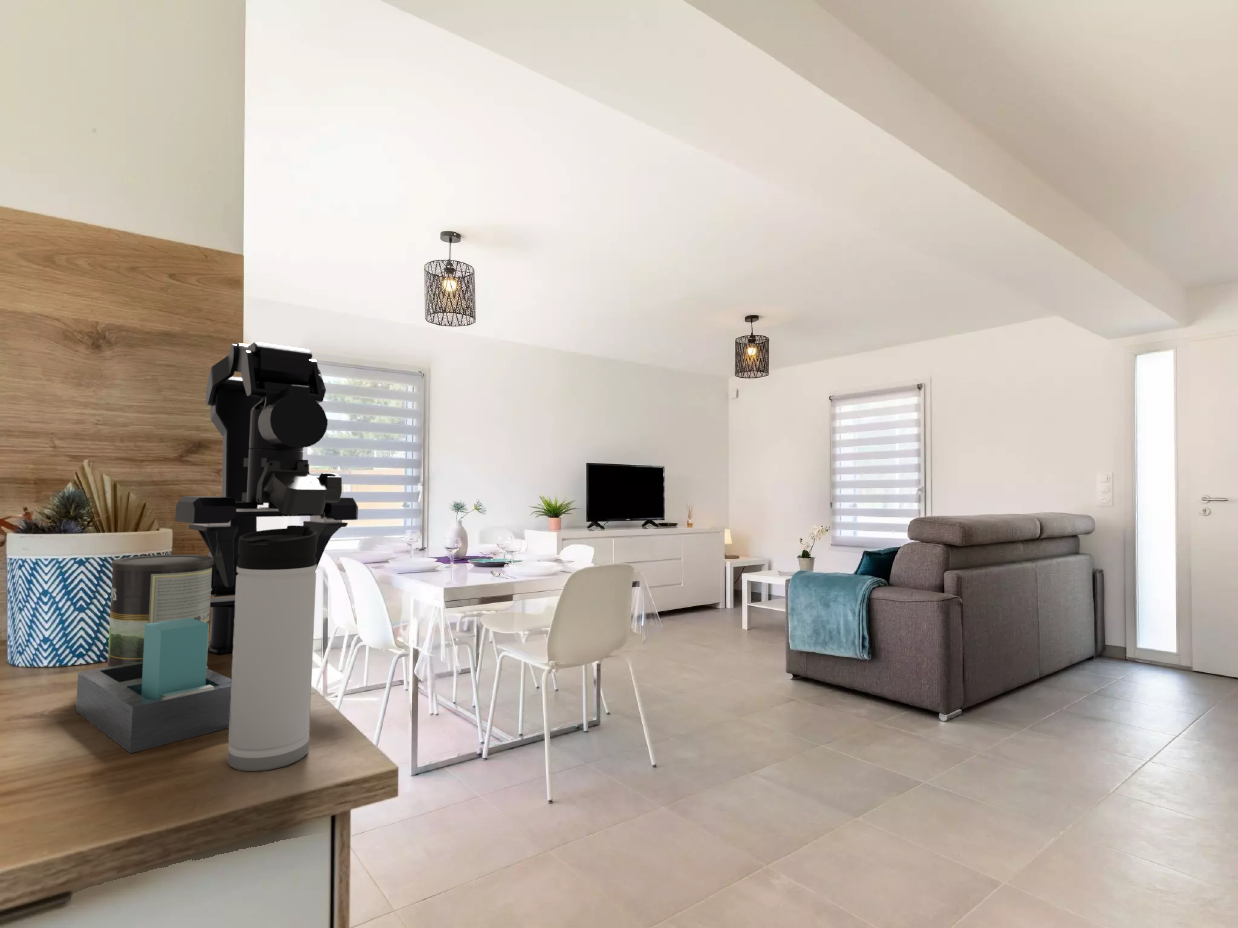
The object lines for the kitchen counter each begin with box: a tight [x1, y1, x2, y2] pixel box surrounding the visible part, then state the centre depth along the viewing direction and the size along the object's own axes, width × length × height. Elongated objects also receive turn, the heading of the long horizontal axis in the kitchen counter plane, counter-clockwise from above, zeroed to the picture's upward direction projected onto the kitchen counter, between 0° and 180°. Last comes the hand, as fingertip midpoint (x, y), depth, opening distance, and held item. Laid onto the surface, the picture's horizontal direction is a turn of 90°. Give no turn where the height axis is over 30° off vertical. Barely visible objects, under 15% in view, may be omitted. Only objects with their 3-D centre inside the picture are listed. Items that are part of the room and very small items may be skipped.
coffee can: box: [106, 554, 214, 669], centre depth 80 cm, size 10×10×14 cm
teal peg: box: [141, 618, 209, 700], centre depth 63 cm, size 4×4×10 cm
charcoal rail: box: [75, 661, 231, 754], centre depth 66 cm, size 16×9×4 cm, turn 53°
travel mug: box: [227, 524, 318, 772], centre depth 58 cm, size 6×7×20 cm
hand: (270, 582), depth 77 cm, fingers open, 9 cm apart
